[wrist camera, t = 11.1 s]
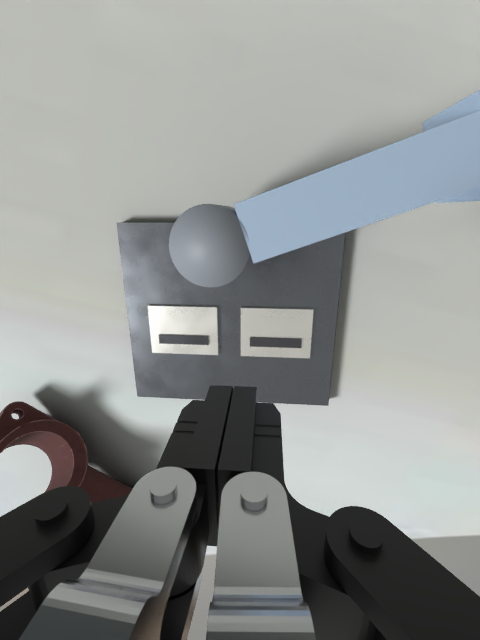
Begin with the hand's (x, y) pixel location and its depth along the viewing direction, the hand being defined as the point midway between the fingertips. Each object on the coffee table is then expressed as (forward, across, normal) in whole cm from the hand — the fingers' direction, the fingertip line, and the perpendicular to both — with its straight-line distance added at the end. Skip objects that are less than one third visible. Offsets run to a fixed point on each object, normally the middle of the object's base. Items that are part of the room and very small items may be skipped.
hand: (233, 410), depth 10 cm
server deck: (+18, +2, +3) cm, 18 cm away
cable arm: (+14, -4, -6) cm, 16 cm away
